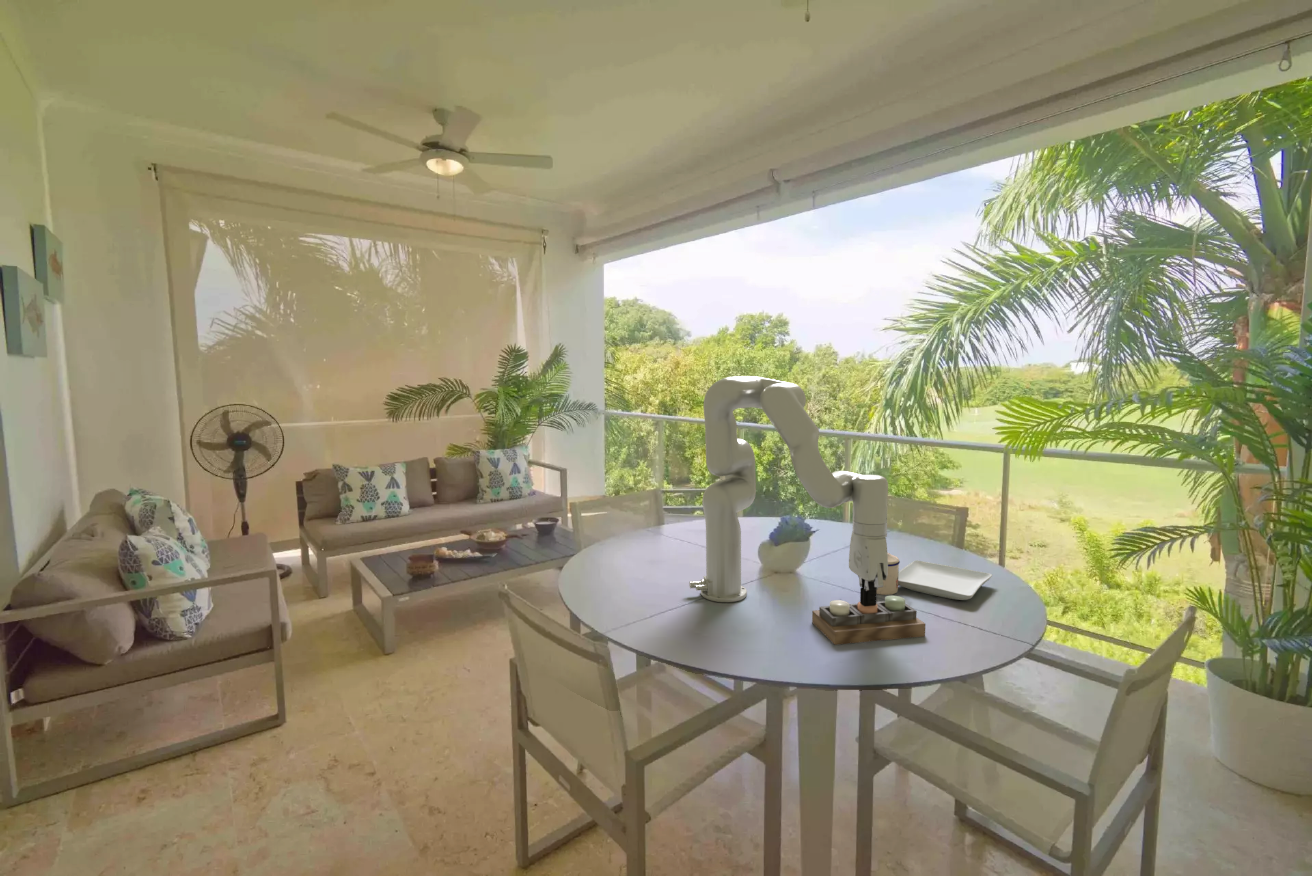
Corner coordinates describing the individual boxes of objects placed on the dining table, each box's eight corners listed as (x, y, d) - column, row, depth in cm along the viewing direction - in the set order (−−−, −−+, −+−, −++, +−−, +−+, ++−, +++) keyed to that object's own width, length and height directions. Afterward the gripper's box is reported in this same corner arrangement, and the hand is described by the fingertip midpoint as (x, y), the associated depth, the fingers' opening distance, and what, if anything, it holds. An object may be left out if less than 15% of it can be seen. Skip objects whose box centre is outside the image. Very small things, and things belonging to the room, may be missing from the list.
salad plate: (887, 588, 164) (888, 576, 163) (915, 569, 179) (915, 558, 179) (971, 608, 149) (971, 595, 149) (992, 585, 165) (993, 573, 164)
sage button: (891, 613, 136) (891, 603, 136) (881, 605, 141) (881, 596, 140) (908, 611, 137) (909, 601, 137) (898, 604, 141) (898, 594, 141)
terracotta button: (863, 618, 135) (863, 608, 135) (853, 611, 140) (854, 601, 139) (880, 617, 136) (881, 607, 136) (871, 609, 140) (871, 600, 140)
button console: (834, 644, 130) (835, 623, 130) (812, 622, 142) (812, 602, 142) (925, 636, 134) (925, 615, 133) (895, 615, 146) (896, 595, 145)
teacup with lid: (904, 595, 159) (906, 553, 157) (872, 596, 158) (873, 554, 157) (885, 579, 171) (886, 540, 169) (854, 580, 170) (855, 541, 169)
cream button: (834, 618, 134) (835, 608, 134) (826, 610, 138) (826, 600, 138) (852, 616, 135) (853, 606, 134) (843, 609, 139) (844, 599, 139)
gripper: (839, 521, 142) (838, 594, 144) (871, 538, 127) (869, 619, 129) (868, 519, 143) (866, 592, 145) (903, 536, 129) (901, 616, 131)
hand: (868, 604), depth 137 cm, fingers closed
